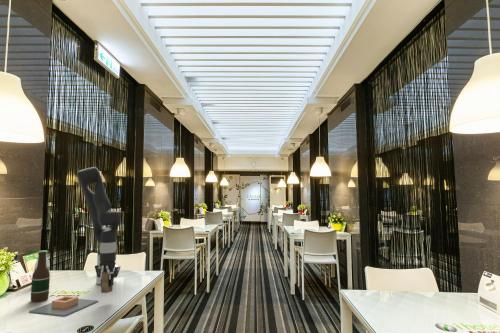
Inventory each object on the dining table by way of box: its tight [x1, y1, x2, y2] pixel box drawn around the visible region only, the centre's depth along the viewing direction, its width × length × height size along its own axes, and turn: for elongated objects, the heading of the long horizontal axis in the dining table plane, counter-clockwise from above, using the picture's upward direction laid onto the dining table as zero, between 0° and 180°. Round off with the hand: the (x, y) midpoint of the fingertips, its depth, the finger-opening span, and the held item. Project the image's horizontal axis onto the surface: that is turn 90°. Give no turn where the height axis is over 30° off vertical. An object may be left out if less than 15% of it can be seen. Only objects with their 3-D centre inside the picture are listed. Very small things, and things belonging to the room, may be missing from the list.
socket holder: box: [28, 295, 99, 317], centre depth 148 cm, size 20×20×4 cm
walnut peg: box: [100, 271, 113, 294], centre depth 155 cm, size 4×4×10 cm
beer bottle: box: [30, 250, 51, 303], centre depth 159 cm, size 8×8×24 cm
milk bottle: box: [33, 249, 51, 272], centre depth 186 cm, size 8×8×20 cm
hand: (106, 286), depth 155 cm, fingers closed on walnut peg, 3 cm apart
